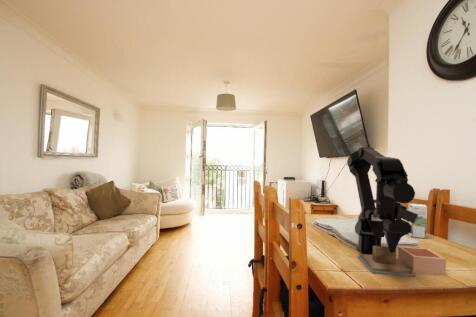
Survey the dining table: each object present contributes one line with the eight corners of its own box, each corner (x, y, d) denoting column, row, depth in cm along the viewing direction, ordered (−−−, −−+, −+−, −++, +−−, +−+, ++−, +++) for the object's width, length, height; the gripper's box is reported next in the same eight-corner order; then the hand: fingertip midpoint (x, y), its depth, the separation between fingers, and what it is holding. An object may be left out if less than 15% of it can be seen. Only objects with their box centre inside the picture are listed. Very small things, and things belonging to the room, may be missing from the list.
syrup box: (421, 235, 116) (422, 203, 116) (426, 239, 110) (427, 205, 110) (407, 233, 118) (408, 202, 118) (411, 237, 112) (412, 204, 112)
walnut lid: (372, 270, 75) (373, 252, 75) (359, 256, 86) (359, 240, 86) (412, 273, 74) (412, 255, 74) (393, 258, 85) (394, 243, 85)
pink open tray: (413, 273, 76) (413, 256, 76) (397, 261, 85) (398, 246, 85) (445, 275, 75) (446, 258, 75) (426, 263, 84) (427, 248, 84)
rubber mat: (371, 273, 75) (372, 271, 75) (357, 257, 87) (357, 255, 87) (415, 276, 74) (415, 274, 74) (394, 260, 86) (394, 258, 86)
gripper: (433, 204, 70) (431, 260, 70) (398, 194, 88) (397, 239, 88) (390, 202, 71) (388, 257, 71) (364, 193, 90) (363, 237, 90)
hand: (384, 247), depth 80 cm, fingers open, 9 cm apart
